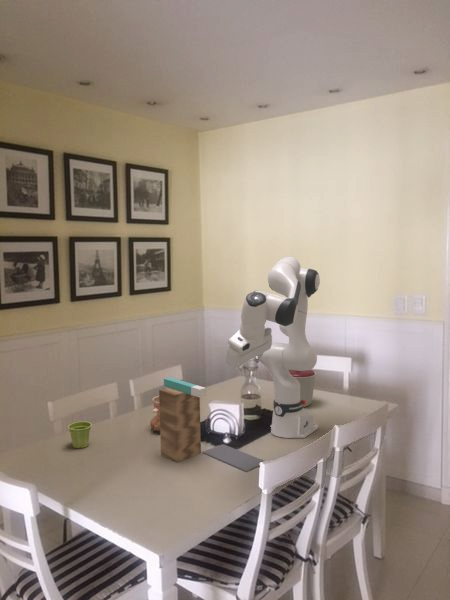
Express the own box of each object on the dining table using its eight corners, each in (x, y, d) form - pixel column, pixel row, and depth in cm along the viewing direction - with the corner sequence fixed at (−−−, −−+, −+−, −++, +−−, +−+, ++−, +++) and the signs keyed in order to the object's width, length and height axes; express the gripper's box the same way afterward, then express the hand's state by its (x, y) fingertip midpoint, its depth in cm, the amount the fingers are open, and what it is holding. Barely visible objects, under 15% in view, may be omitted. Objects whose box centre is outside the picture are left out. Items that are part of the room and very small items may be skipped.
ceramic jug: (166, 438, 212) (166, 406, 211) (141, 431, 220) (141, 400, 219) (192, 426, 227) (192, 396, 226) (168, 420, 235) (168, 391, 234)
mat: (223, 445, 204) (223, 444, 204) (266, 462, 187) (266, 461, 187) (202, 453, 197) (202, 451, 197) (246, 472, 179) (246, 470, 179)
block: (169, 384, 200) (169, 377, 200) (206, 395, 184) (205, 387, 184) (163, 386, 198) (163, 378, 198) (199, 397, 182) (199, 389, 182)
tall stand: (184, 446, 204) (183, 383, 201) (200, 453, 197) (199, 388, 194) (161, 454, 196) (159, 389, 193) (176, 462, 188) (174, 395, 186)
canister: (319, 409, 247) (319, 368, 244) (282, 410, 247) (282, 368, 245) (313, 398, 265) (313, 359, 262) (278, 399, 265) (278, 360, 263)
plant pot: (97, 443, 208) (96, 423, 207) (82, 451, 200) (81, 430, 199) (79, 440, 212) (78, 420, 211) (64, 448, 204) (62, 427, 203)
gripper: (265, 321, 185) (261, 351, 192) (224, 341, 173) (222, 372, 180) (278, 329, 181) (273, 359, 188) (237, 350, 169) (234, 381, 176)
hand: (248, 366), depth 184 cm, fingers open, 8 cm apart
